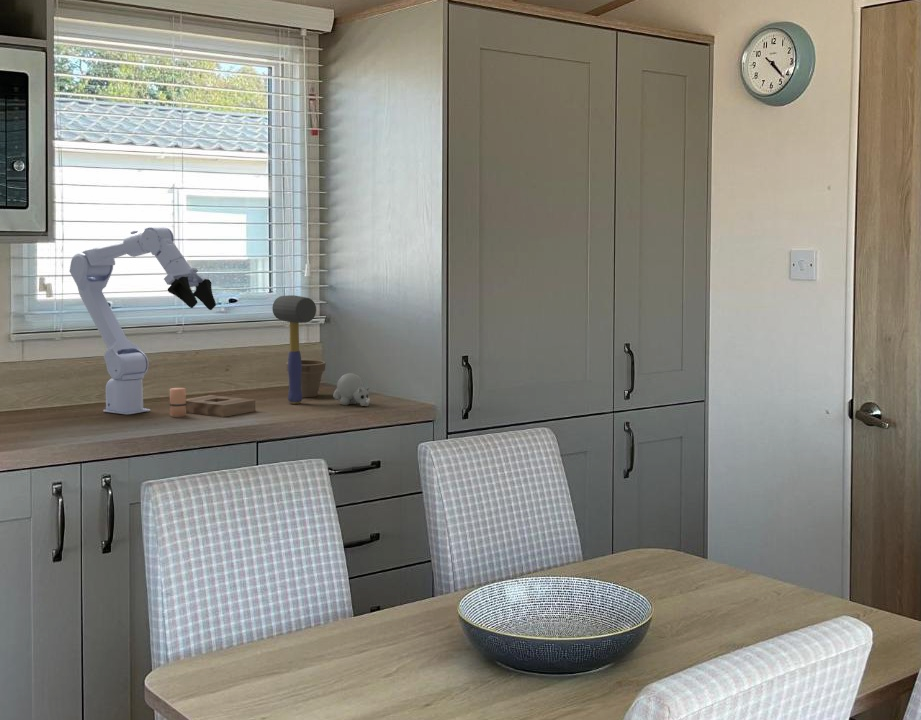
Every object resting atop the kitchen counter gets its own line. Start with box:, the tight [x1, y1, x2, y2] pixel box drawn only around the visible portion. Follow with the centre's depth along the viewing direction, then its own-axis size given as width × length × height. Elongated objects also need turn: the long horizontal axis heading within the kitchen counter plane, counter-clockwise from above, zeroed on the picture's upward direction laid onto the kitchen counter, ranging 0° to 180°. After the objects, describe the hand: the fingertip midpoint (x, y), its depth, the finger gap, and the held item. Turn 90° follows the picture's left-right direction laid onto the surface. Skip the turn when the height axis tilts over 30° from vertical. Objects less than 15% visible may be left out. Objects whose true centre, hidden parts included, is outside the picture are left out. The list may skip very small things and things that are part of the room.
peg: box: [169, 387, 187, 418], centre depth 291 cm, size 4×4×7 cm
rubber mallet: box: [271, 295, 317, 405], centre depth 311 cm, size 12×8×30 cm, turn 43°
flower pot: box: [285, 359, 327, 399], centre depth 327 cm, size 12×11×10 cm
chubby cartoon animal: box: [332, 372, 371, 407], centre depth 310 cm, size 7×12×8 cm, turn 45°
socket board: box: [186, 394, 256, 418], centre depth 299 cm, size 16×12×3 cm
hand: (203, 306), depth 280 cm, fingers open, 7 cm apart
